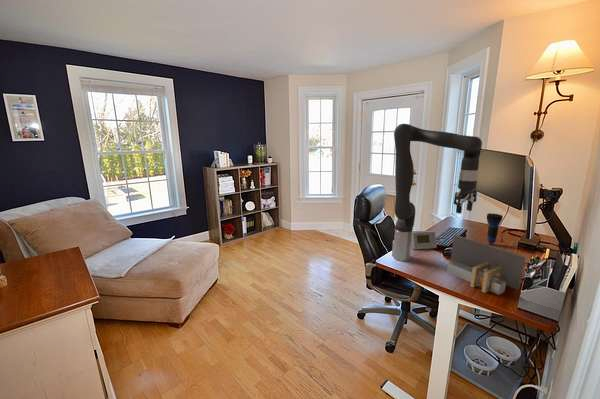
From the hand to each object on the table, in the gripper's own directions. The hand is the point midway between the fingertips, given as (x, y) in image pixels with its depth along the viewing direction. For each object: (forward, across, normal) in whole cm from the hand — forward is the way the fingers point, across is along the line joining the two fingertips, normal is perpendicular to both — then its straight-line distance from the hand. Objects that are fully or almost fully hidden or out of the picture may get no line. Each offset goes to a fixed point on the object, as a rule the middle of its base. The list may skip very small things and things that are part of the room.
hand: (463, 211), depth 129 cm
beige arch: (+32, +2, +12) cm, 35 cm away
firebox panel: (+32, -8, +8) cm, 34 cm away
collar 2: (+32, +2, +18) cm, 37 cm away
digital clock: (+32, -11, -29) cm, 45 cm away
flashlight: (+32, -53, -11) cm, 63 cm away
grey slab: (+32, +2, +10) cm, 34 cm away
